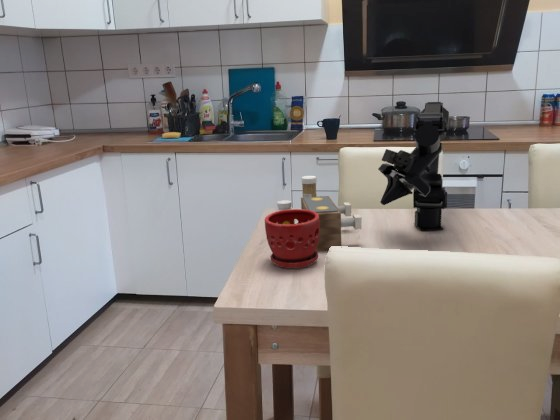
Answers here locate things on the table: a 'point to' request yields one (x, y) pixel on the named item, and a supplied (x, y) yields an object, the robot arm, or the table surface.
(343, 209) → the button
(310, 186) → the sprinkles bottle
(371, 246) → the table surface
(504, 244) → the table surface
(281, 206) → the supplement bottle
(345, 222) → the button
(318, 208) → the card
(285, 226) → the plant pot
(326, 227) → the button box
